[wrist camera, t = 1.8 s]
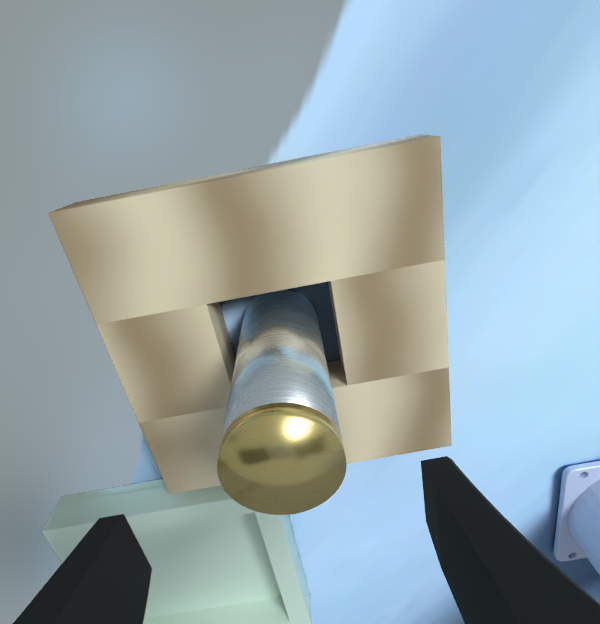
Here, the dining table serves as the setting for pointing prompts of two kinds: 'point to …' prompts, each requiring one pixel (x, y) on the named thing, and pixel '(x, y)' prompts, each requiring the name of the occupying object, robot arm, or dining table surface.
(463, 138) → the dining table surface
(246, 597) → the sage tray
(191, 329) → the hitch block
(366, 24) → the dining table surface
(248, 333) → the steel pin
